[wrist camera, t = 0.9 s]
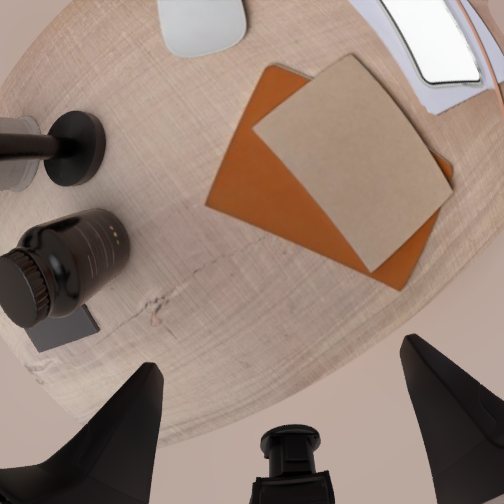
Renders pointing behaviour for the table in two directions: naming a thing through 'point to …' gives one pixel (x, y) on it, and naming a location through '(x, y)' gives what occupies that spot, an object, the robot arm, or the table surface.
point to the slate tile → (62, 329)
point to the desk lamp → (61, 148)
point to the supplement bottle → (61, 266)
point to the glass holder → (18, 172)
